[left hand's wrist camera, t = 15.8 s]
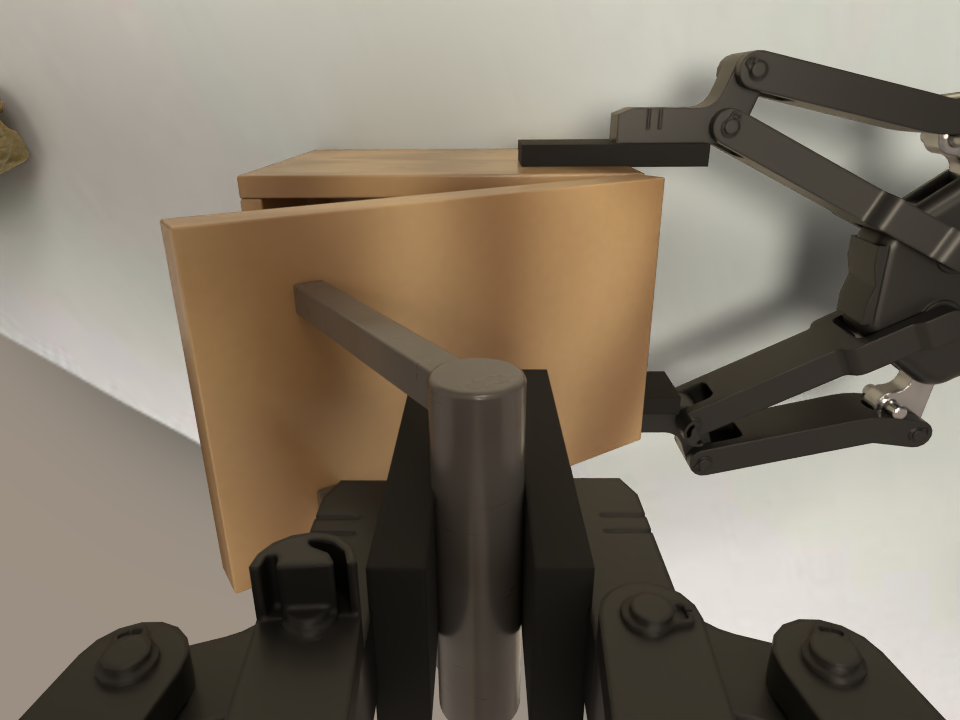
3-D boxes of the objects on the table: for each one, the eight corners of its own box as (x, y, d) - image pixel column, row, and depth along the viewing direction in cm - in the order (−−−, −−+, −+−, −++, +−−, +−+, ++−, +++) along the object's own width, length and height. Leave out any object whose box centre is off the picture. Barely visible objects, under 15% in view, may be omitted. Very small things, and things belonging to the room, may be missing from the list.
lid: (223, 568, 17) (366, 873, 10) (158, 219, 14) (308, 334, 7) (616, 426, 24) (853, 553, 18) (635, 174, 21) (937, 210, 14)
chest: (330, 331, 34) (270, 425, 25) (313, 149, 31) (236, 175, 21) (584, 330, 34) (624, 424, 25) (594, 148, 31) (645, 173, 21)
